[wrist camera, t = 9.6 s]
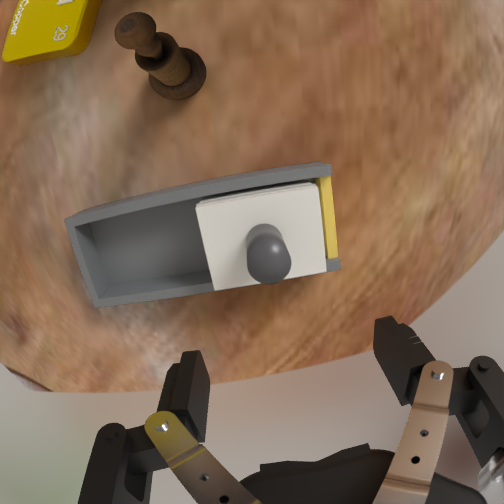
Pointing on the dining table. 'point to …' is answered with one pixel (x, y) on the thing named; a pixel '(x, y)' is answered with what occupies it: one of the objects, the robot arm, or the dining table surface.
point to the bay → (171, 237)
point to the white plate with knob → (262, 234)
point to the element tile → (49, 30)
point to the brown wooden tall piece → (161, 57)
